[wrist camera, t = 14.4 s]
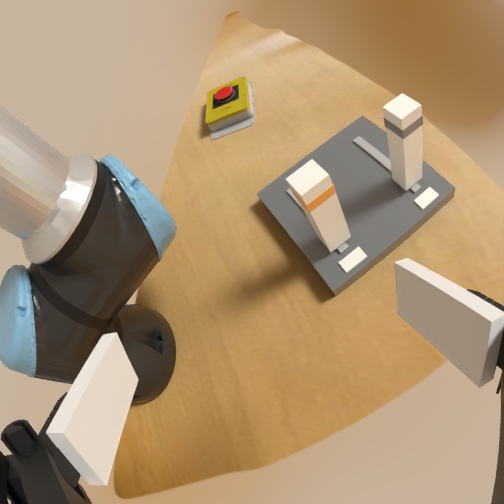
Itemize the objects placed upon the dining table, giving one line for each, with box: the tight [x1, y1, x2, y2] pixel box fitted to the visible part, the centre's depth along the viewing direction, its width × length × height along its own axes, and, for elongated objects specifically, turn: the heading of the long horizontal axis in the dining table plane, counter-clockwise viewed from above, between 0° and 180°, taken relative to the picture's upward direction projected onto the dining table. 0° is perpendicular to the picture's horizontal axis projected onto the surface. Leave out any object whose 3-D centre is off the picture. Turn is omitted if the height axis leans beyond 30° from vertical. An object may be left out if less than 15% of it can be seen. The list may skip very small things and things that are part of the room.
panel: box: [257, 116, 455, 296], centre depth 39 cm, size 18×20×2 cm
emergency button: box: [205, 77, 256, 140], centre depth 58 cm, size 9×4×15 cm
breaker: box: [383, 94, 423, 191], centre depth 30 cm, size 3×3×12 cm
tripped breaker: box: [286, 159, 351, 252], centre depth 31 cm, size 3×3×12 cm
